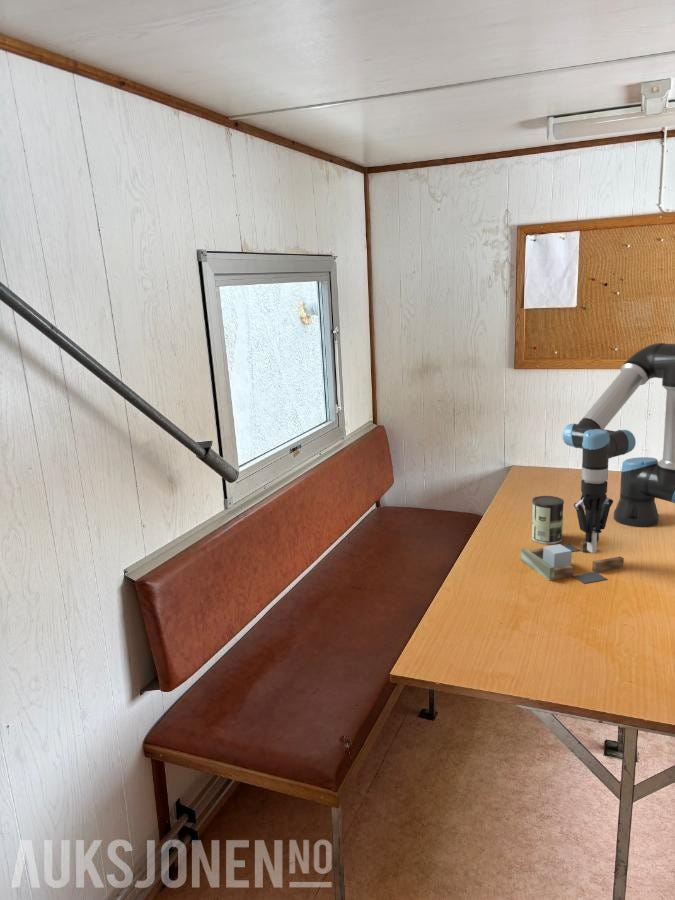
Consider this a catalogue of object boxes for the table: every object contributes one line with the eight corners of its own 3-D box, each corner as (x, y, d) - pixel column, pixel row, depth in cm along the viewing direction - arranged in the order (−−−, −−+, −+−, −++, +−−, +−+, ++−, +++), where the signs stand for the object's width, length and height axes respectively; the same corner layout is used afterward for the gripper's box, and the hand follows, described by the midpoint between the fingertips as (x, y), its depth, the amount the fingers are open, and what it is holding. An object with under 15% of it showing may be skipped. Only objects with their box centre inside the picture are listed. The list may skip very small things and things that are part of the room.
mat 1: (569, 544, 225) (569, 544, 225) (579, 550, 220) (579, 550, 220) (548, 548, 223) (548, 547, 223) (558, 554, 218) (558, 553, 218)
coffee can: (560, 534, 235) (562, 495, 231) (563, 545, 225) (565, 505, 222) (530, 532, 237) (531, 495, 234) (532, 543, 227) (533, 504, 224)
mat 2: (595, 572, 203) (595, 571, 203) (607, 579, 198) (607, 578, 198) (572, 576, 201) (572, 575, 201) (584, 583, 196) (584, 583, 196)
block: (559, 561, 212) (560, 544, 211) (570, 569, 207) (571, 550, 205) (542, 564, 211) (543, 546, 209) (553, 572, 205) (554, 553, 204)
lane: (590, 548, 221) (590, 537, 220) (623, 567, 206) (623, 555, 205) (520, 560, 214) (520, 548, 213) (549, 580, 199) (549, 568, 198)
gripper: (604, 474, 211) (601, 543, 217) (568, 479, 207) (566, 550, 213) (620, 480, 204) (616, 552, 210) (583, 486, 200) (581, 559, 206)
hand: (591, 551), depth 211 cm, fingers closed
